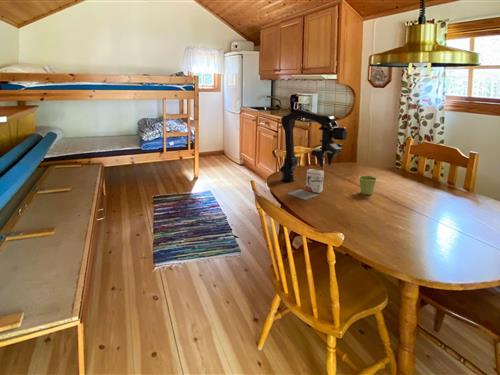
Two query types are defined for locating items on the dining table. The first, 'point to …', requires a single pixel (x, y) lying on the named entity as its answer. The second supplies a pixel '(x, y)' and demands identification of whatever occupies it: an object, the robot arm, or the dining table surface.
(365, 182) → the plant pot
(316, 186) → the ink box
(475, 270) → the dining table surface
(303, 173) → the dining table surface
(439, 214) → the dining table surface
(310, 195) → the mat
